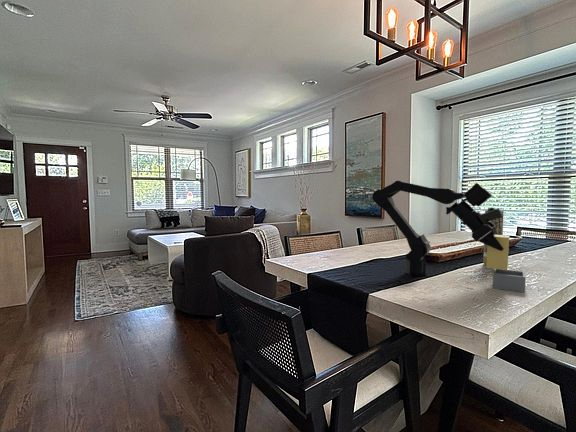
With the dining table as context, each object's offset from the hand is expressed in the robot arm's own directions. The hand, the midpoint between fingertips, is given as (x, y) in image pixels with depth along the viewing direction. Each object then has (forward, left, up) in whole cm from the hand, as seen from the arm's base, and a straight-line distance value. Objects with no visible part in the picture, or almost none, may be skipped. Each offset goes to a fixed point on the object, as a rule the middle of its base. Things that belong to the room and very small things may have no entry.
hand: (502, 248), depth 108 cm
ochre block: (-1, +1, -7) cm, 7 cm away
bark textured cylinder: (+19, +29, -13) cm, 37 cm away
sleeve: (+2, -1, -13) cm, 13 cm away
